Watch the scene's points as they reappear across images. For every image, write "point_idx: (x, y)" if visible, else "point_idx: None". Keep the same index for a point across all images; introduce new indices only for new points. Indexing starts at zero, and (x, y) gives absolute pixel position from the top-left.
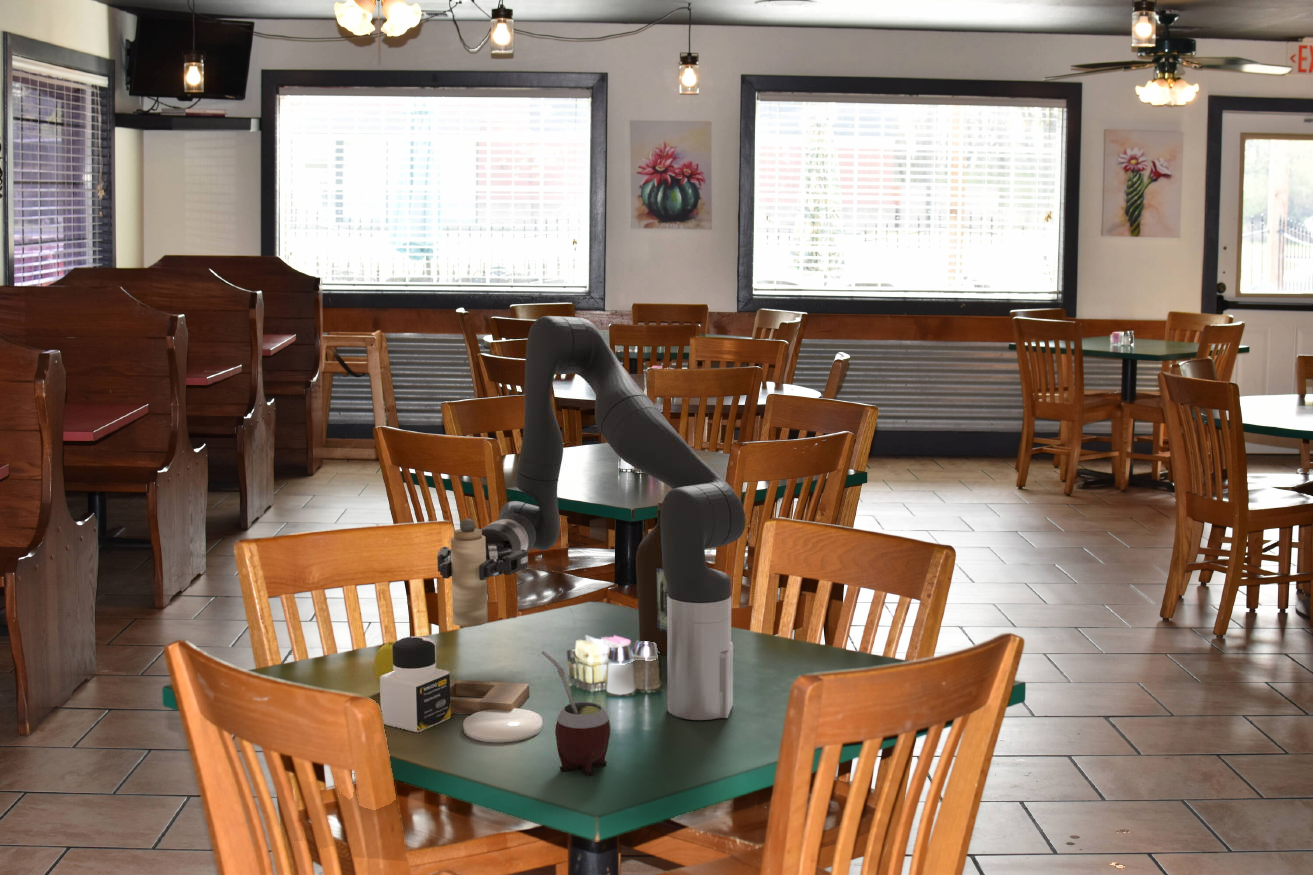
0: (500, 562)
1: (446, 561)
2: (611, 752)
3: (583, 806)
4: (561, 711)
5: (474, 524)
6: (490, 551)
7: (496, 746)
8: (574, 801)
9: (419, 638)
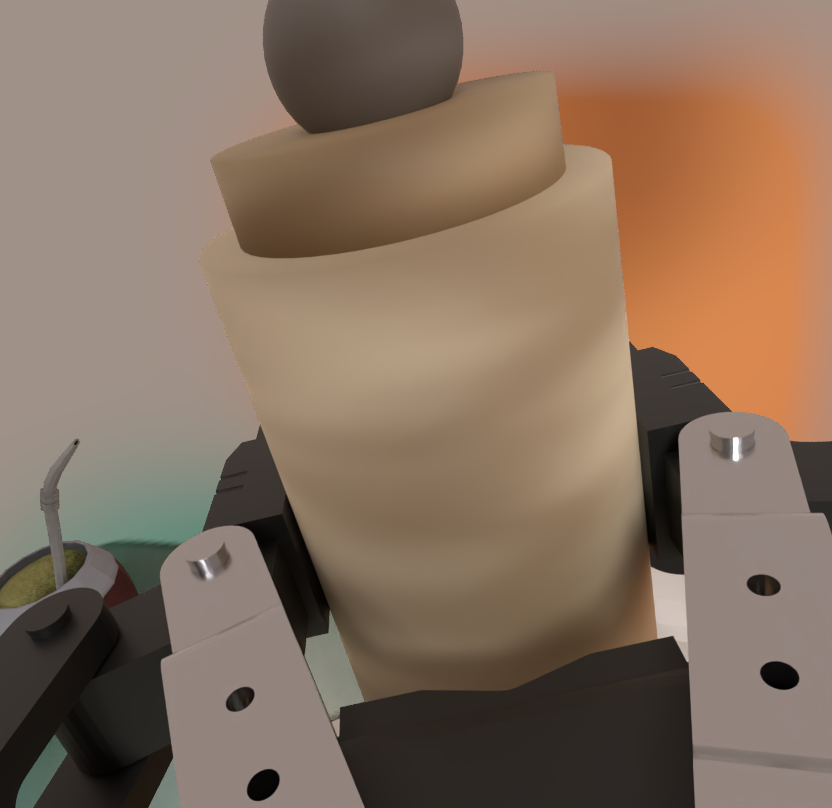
0: (150, 594)
1: (639, 360)
2: (19, 791)
3: (122, 556)
4: (97, 555)
5: (264, 41)
6: (268, 630)
7: (339, 710)
8: (136, 563)
9: (673, 567)
